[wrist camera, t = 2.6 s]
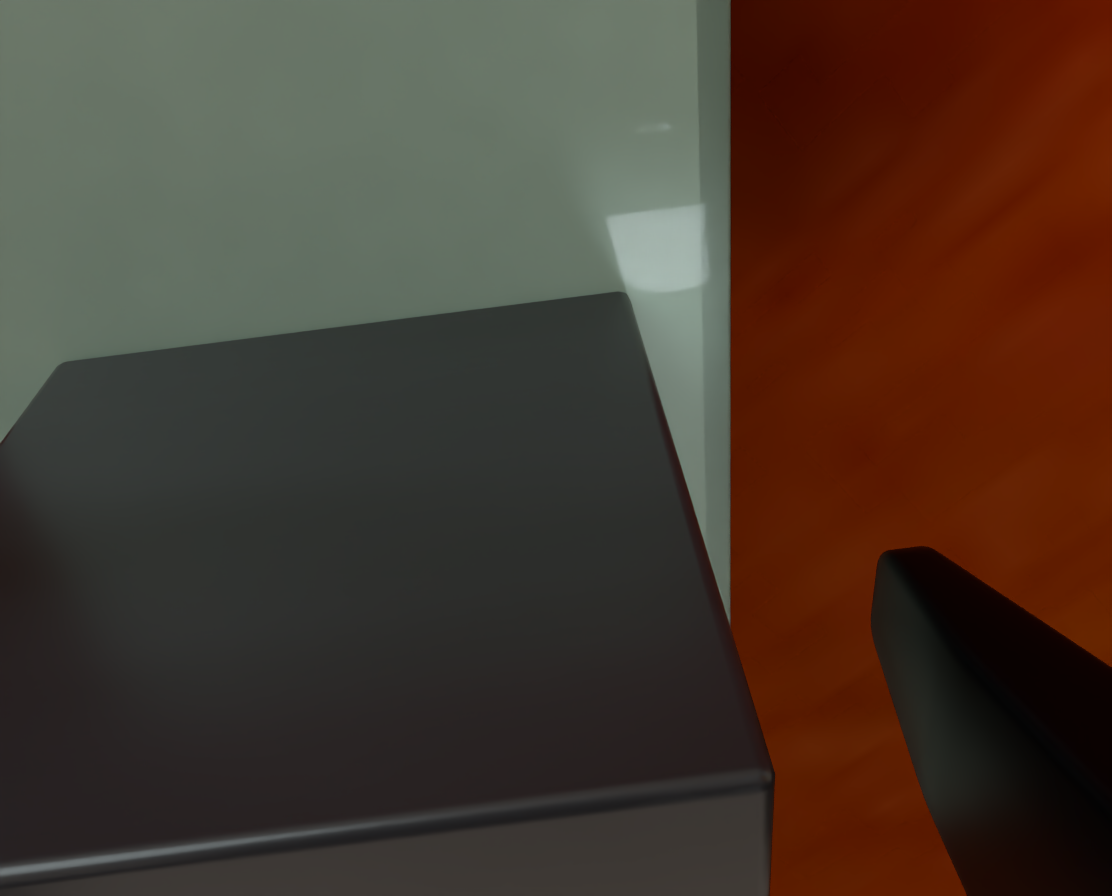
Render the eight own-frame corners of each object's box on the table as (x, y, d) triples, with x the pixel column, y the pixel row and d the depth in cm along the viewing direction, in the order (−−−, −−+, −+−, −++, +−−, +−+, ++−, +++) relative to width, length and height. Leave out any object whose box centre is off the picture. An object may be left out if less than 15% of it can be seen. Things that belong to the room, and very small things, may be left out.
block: (654, 676, 11) (760, 1198, 7) (230, 729, 11) (83, 1280, 7) (627, 286, 8) (781, 780, 4) (56, 358, 8) (-367, 924, 4)
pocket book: (689, 704, 16) (730, 879, 14) (297, 753, 16) (262, 937, 14) (651, -355, 8) (732, -425, 6) (-121, -254, 8) (-403, -279, 6)
